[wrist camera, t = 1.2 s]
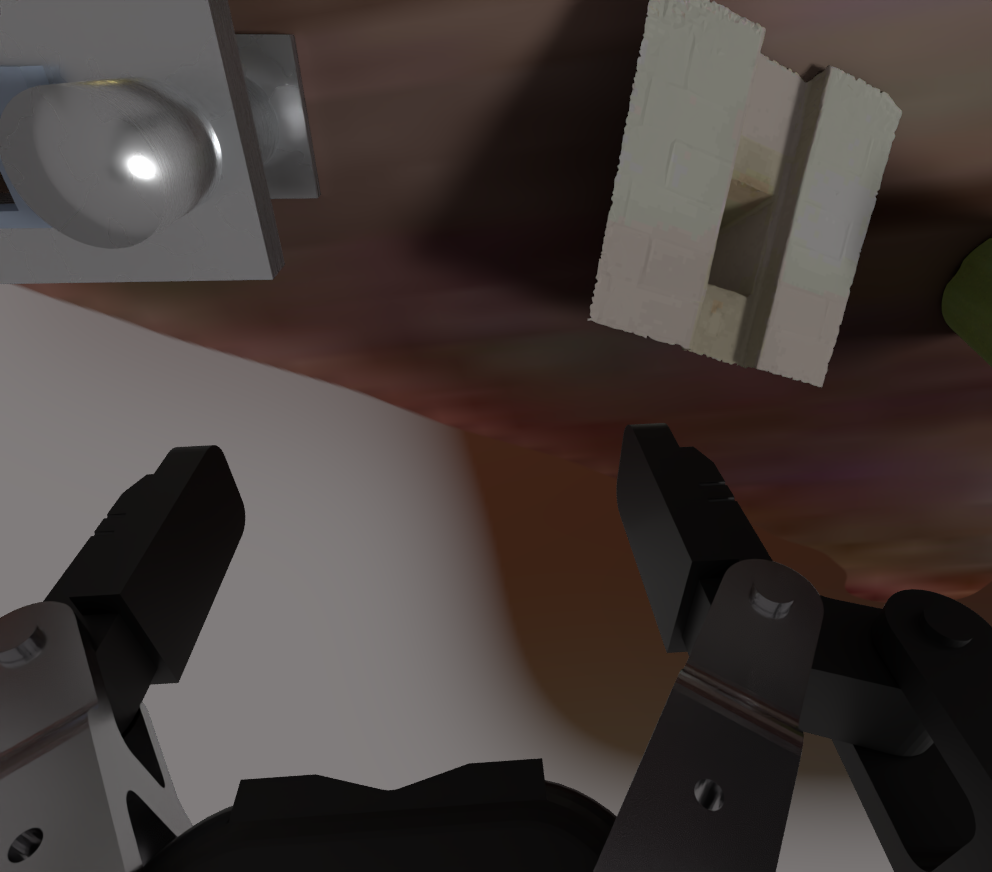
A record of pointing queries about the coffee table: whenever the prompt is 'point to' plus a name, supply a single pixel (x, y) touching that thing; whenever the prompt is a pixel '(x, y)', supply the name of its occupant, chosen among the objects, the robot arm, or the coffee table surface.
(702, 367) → the coffee table surface
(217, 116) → the grey piece
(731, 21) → the white slotted block
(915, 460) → the coffee table surface
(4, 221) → the bracket
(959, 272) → the plant pot
